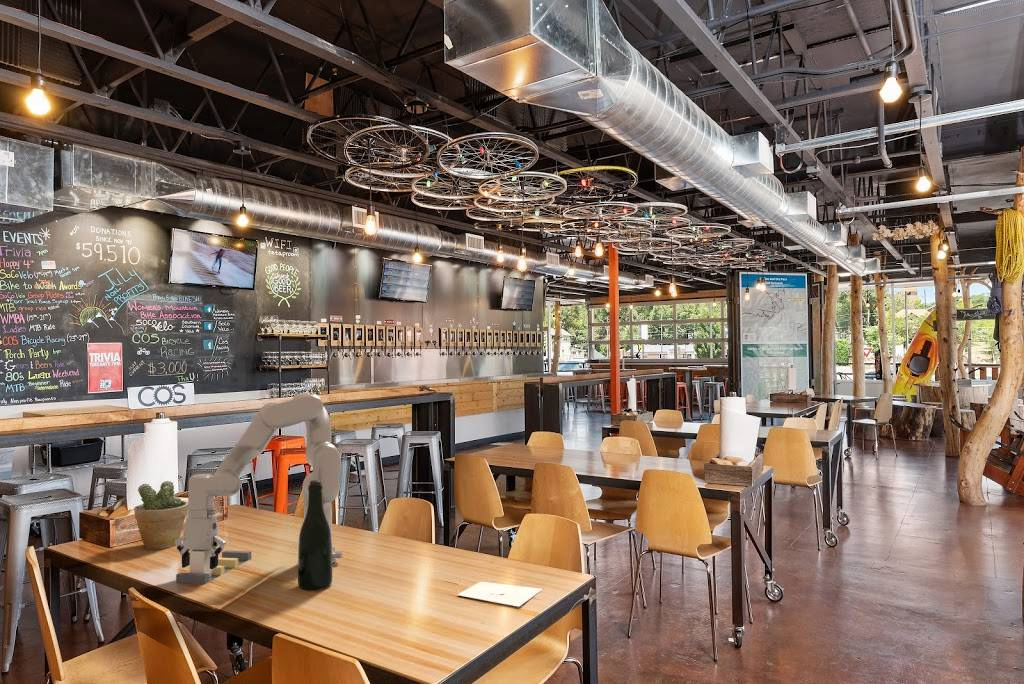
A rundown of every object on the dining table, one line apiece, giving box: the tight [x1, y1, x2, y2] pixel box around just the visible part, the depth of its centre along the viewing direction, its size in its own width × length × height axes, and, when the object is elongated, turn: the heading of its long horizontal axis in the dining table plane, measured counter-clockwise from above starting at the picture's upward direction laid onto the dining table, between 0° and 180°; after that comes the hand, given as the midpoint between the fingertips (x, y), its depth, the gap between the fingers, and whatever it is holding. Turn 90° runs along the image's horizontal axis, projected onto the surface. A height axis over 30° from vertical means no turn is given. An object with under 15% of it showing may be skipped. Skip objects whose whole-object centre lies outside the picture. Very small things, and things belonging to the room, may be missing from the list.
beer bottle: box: [297, 480, 333, 592], centre depth 200 cm, size 10×10×33 cm
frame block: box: [189, 550, 212, 577], centre depth 204 cm, size 5×4×9 cm
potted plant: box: [133, 480, 188, 551], centre depth 247 cm, size 18×19×25 cm
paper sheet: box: [456, 581, 543, 607], centre depth 197 cm, size 24×29×1 cm
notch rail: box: [175, 550, 252, 585], centre depth 211 cm, size 10×26×4 cm, turn 172°
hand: (199, 567), depth 203 cm, fingers open, 9 cm apart
